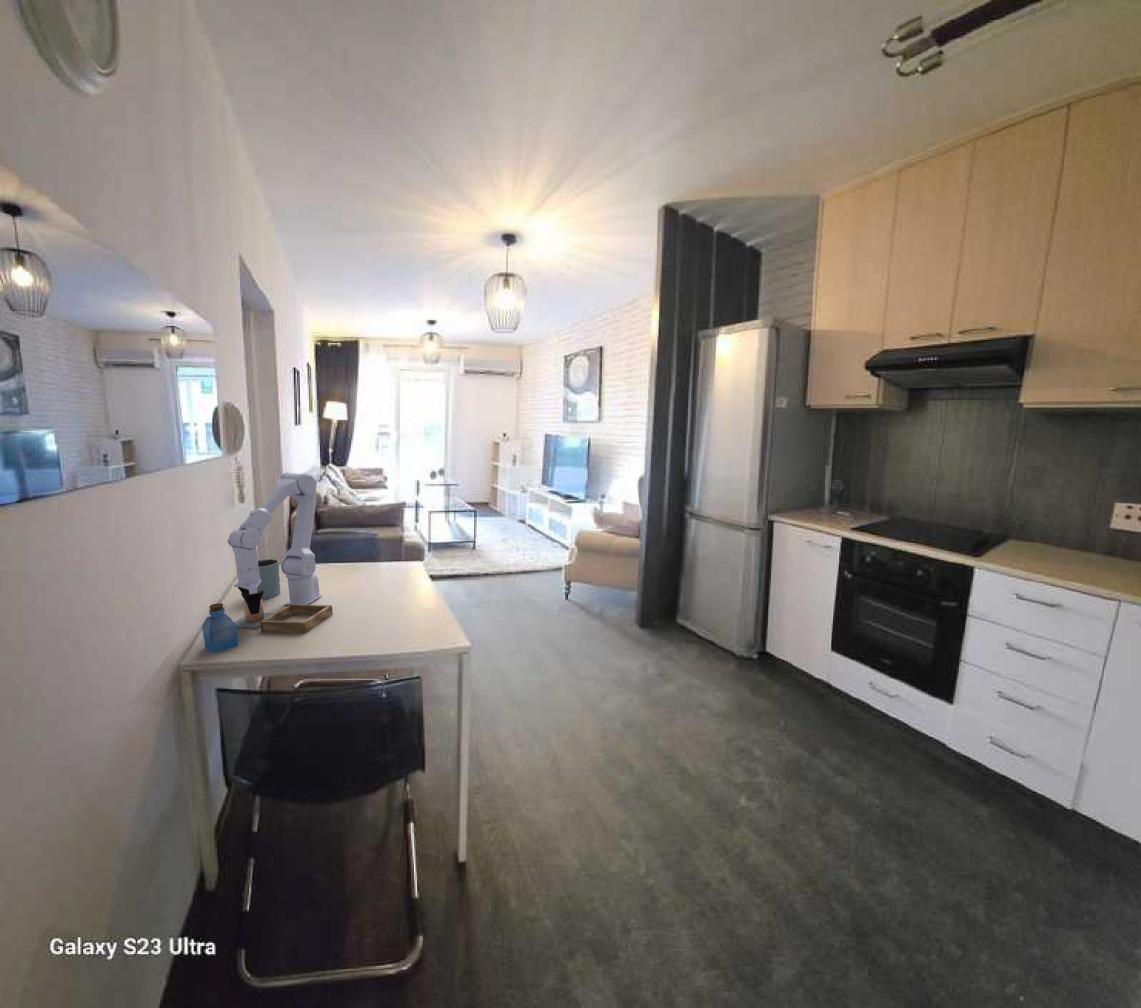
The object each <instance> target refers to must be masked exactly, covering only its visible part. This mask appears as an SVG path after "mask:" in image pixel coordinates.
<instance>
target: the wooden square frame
mask: <svg viewBox="0 0 1141 1008" xmlns="http://www.w3.org/2000/svg"><path fill="white" fill-rule="evenodd" d="M273 613H274V614H273V615H271V616H269V617H267V618H266V619H264V620H262V621H260V627H259V628H260V632H264V633H265V632H267V633H268V632H272V633H299V634H300V633H301V634H302V633H303V634H306V633H307V632H309V631H310V630H313V629H314V628H315V627H316V626H318V625H320V624H321V623H322V622H324V621H325V620H326V619H328V618H329V617H331V616H332V615H333V614H334V612H333V605H332V604H331V605H329V604H308V605H301V604H290V605H286V606H285V607H284V608H282V609H280V610H278V611H277V612H273ZM292 615H297V616H298V615H301V616H302V615H304V616H310V617H309V618H307V619H306V620H303V621H296V620H295V621H294V620H293V621H292V620H287V621H286V620H285V619H288V617H290V616H292Z"/></svg>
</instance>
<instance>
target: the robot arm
mask: <svg viewBox="0 0 1141 1008" xmlns="http://www.w3.org/2000/svg"><path fill="white" fill-rule="evenodd" d="M317 484H318V482H317V479H315V478H314V477H313V475H311V474H310V473H308V472H307V473H296V472H294V473H293V472H285V473H282V474H281V475H280V477H279V478H278V479H277V480H276V485H275V487H274V489H273V490H272V491H271V492H270V494H269V496H268V497H267V499H266V500H265V501H264V503H263V505H262V506H261V507H260V508H255V509H253V510H251V511H250V512H249V515H248V517H247V518H246V519H245V520H244V521H243V522H242V523H241V524H240V525H239V527H238V528H236V529H234V530H233V531H231V532H230V534H229V536H228V539H227V544H228V546H230V547H231V548H232V552H233V553H234V561H235V568H236V576H237V582H235V583H233V587H234V588H237V589H238V590H239V591H240V592H241V594H240V595H241V597H242V598H243V599H244V601H246V603H247V605H248V608H249V611H250V613H251V615H252V614H257V613H259V610H260V602H261V598H262V595H263V593H264V591H263V590H261V591H257V588H258V586H259V584H260V583H261V579H260V573H259V565H258V560H259V559H258V552H257V551H258V550H257V546H258V545H259V544H260V542H261V536H262V533H263V532H264V531H265V530H266V529H267V527H268V525H269V524H270V523H271V522H272V520H273V516H272V514H273V513H274V512H275V511H276V510H277V509H278V507H280V506H281V504H282V503H283V502H284V501H285V500H287V498H288V497H291V496H292V497H293V498H294V500H296V501H297V508H296V513H295V514H296V515H295V520H294V526H293V527H294V529H293V534H292V542H291V547H290V548H289V549H288V550H287V551H286V552H285V553H284V558H283V559H282V561H281V564H280V569H281V572H282V573H283V574H284V575H285V578H287V584H288V596H289V600H288V601H287V602H285V603H283V604H284V606H288V605H290V604H301V605H310V604H312V603H313V602H314V601H316V600H318V599H319V598H322V596H323V595H322V594H320V586H319V585H320V584H319V579H318V576H317V575H316V574H315V571H316V570H317V569H316V568H317V565H316V560H315V559H316V555H315V554H314V552H313V551H312V550H311V542H312V541H311V540H312V535H313V528H314V527H313V526H314V521H315V513H316V507H317V497H318V496H317V493H316V490H317Z"/></svg>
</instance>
